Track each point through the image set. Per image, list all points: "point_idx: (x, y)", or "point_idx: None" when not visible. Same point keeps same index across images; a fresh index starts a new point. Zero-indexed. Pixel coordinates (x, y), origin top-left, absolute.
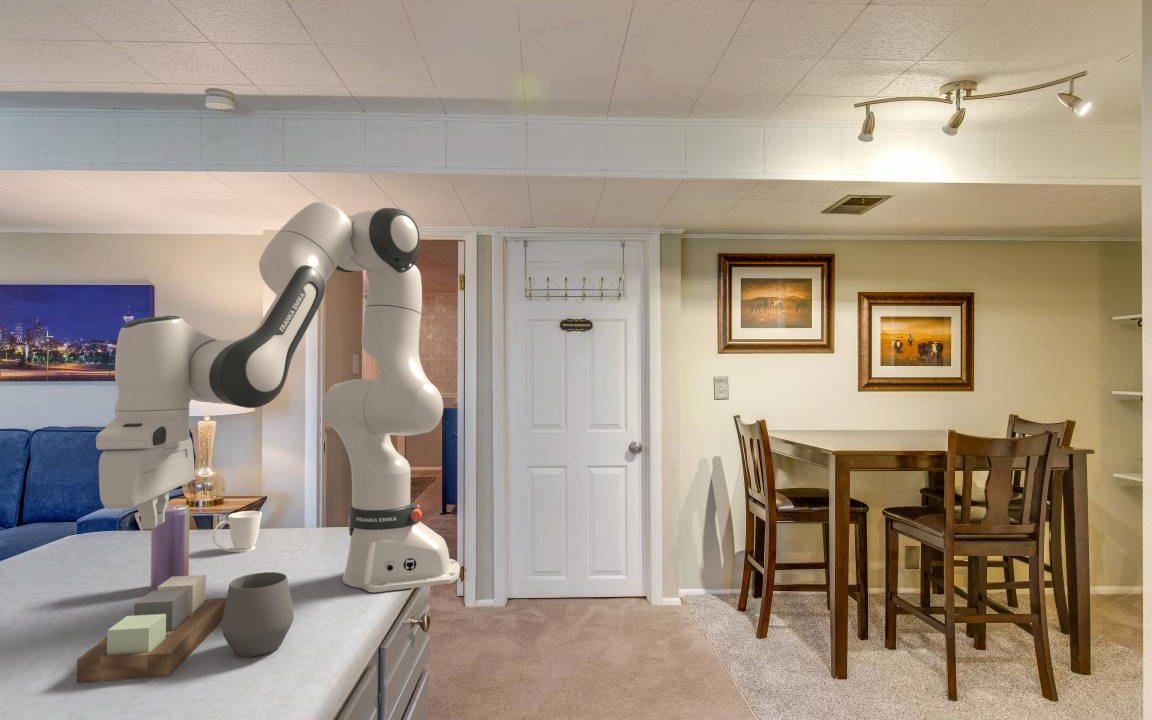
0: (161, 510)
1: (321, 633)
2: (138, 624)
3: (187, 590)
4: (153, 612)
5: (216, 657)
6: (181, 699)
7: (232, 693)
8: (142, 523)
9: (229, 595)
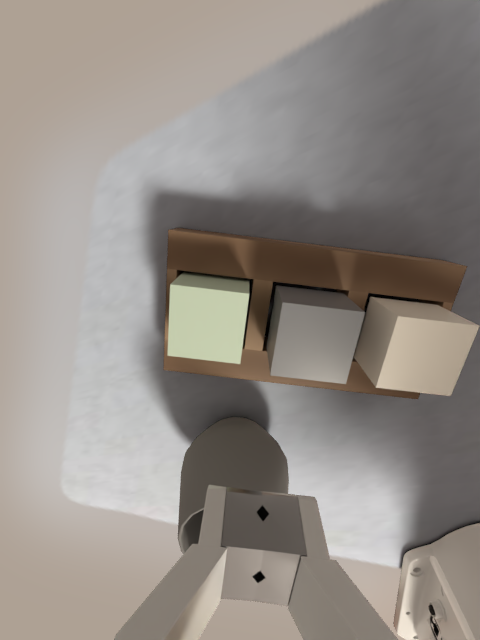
0: (296, 614)
1: None
2: (190, 332)
3: (374, 371)
4: (274, 331)
5: (222, 397)
6: (99, 384)
7: (107, 433)
8: (204, 508)
9: (204, 489)
